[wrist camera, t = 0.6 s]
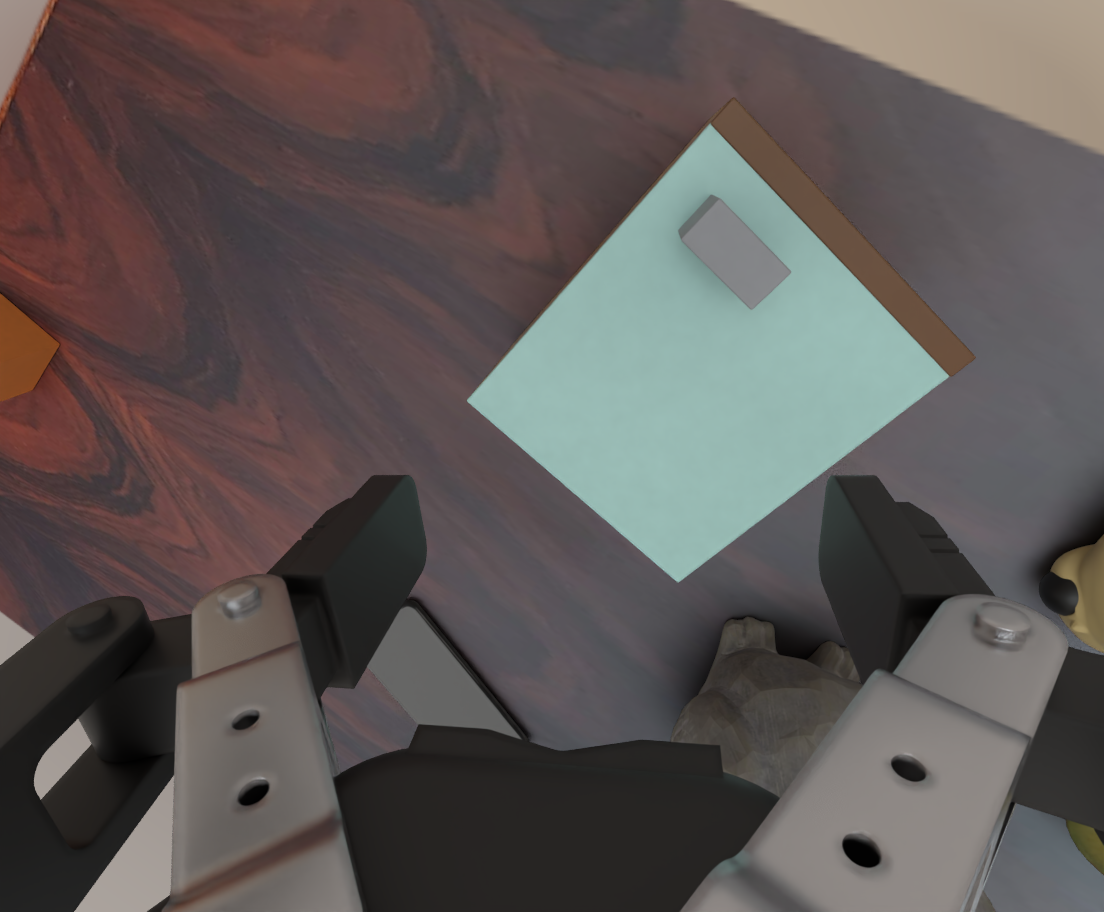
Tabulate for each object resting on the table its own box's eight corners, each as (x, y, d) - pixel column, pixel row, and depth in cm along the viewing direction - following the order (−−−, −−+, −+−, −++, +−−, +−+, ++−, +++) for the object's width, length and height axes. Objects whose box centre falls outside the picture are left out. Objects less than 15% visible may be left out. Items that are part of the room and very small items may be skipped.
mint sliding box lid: (469, 396, 26) (443, 428, 23) (731, 98, 20) (745, 85, 17) (677, 575, 28) (680, 628, 25) (968, 352, 23) (1020, 384, 19)
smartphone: (410, 602, 42) (531, 750, 46) (415, 594, 43) (534, 740, 47) (338, 637, 45) (460, 775, 49) (344, 628, 45) (463, 765, 49)
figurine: (934, 651, 39) (1174, 1070, 21) (797, 801, 46) (887, 1210, 28) (727, 565, 38) (789, 915, 20) (621, 730, 45) (598, 1096, 28)
